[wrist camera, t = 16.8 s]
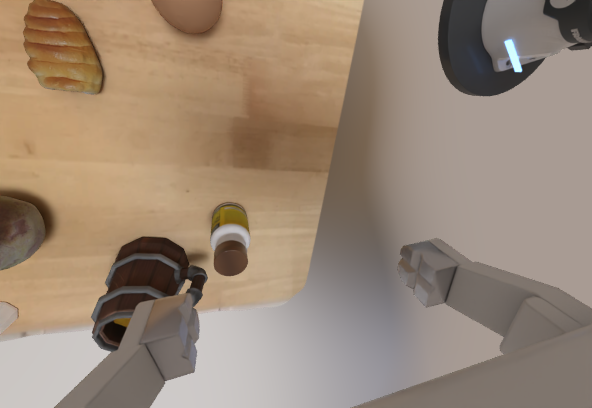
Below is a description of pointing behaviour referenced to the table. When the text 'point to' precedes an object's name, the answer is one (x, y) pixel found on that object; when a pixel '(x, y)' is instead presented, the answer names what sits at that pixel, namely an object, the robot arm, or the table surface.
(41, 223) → the fruit
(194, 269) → the mug
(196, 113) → the table surface
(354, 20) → the table surface
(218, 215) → the pill bottle
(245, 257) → the brown bottle cap
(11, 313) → the pepper shaker
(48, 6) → the pastry
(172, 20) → the egg
